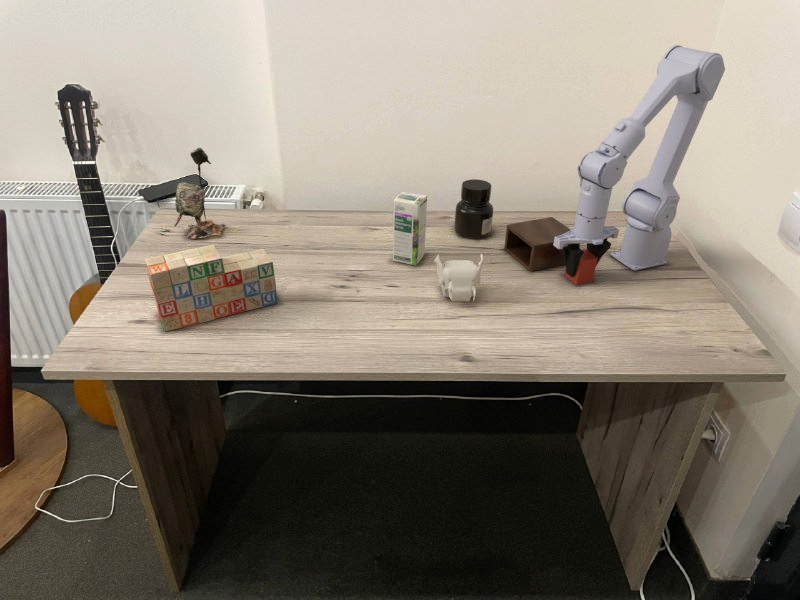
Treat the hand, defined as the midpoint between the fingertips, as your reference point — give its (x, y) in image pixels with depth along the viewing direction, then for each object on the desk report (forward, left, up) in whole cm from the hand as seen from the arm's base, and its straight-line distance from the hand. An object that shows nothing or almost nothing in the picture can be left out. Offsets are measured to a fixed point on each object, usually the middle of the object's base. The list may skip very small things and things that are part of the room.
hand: (579, 272), depth 126 cm
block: (0, 0, -1) cm, 1 cm away
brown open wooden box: (+2, -12, -1) cm, 12 cm away
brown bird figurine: (+71, -50, -2) cm, 87 cm away
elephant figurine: (+27, -3, -2) cm, 27 cm away
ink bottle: (+10, -28, -2) cm, 30 cm away
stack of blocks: (+72, -15, -2) cm, 74 cm away
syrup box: (+30, -21, -2) cm, 37 cm away
